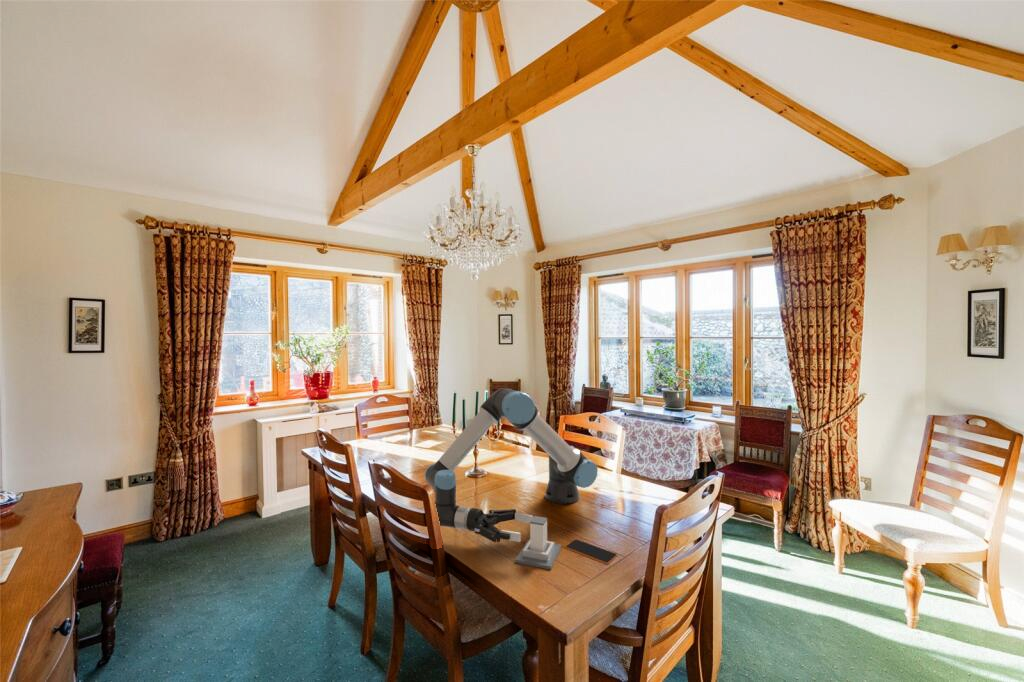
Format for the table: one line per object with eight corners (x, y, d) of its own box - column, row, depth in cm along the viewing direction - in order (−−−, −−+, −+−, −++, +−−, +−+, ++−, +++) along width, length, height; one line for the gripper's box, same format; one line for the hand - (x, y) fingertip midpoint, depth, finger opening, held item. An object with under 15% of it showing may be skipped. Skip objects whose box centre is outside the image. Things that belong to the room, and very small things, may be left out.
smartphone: (575, 540, 150) (575, 538, 150) (618, 556, 140) (618, 554, 140) (563, 548, 145) (563, 546, 144) (607, 566, 134) (607, 563, 134)
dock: (528, 542, 149) (528, 533, 149) (561, 547, 145) (561, 539, 144) (515, 562, 136) (515, 553, 136) (550, 569, 131) (550, 560, 131)
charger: (534, 547, 143) (534, 515, 143) (547, 550, 141) (547, 517, 141) (530, 554, 139) (530, 521, 138) (543, 556, 137) (543, 523, 137)
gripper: (484, 514, 160) (537, 522, 153) (453, 546, 137) (514, 558, 129) (483, 495, 160) (537, 502, 153) (453, 523, 136) (514, 534, 129)
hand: (526, 528), depth 141 cm, fingers open, 13 cm apart
